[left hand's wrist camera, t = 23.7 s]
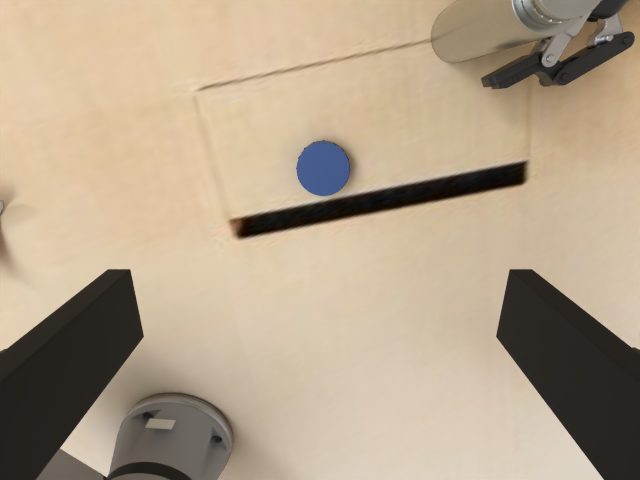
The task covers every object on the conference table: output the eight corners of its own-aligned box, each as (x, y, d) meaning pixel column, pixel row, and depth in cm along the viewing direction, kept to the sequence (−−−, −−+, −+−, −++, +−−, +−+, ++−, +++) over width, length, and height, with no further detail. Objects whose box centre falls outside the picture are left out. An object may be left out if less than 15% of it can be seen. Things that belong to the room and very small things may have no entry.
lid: (359, 160, 38) (361, 163, 36) (329, 201, 39) (329, 206, 38) (316, 129, 37) (316, 131, 35) (287, 173, 38) (286, 176, 37)
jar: (430, 65, 35) (522, 36, 19) (430, 7, 33) (530, -79, 17) (481, 59, 34) (617, 24, 19) (484, 0, 33) (635, -93, 17)
